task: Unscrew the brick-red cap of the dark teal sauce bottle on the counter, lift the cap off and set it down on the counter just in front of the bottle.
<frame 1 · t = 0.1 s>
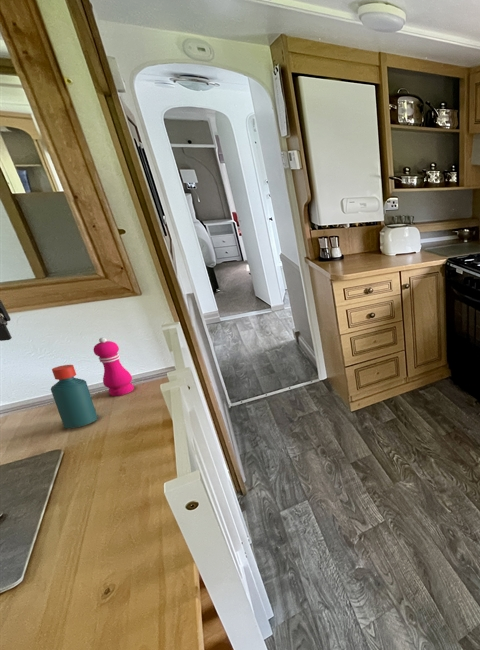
pepper mill: (122, 391, 129), on the table
bottle: (81, 422, 112), on the table, tilted 5°
cap: (63, 368, 107), point 17 cm above the table, tilted 5°, screwed on, not yet turned
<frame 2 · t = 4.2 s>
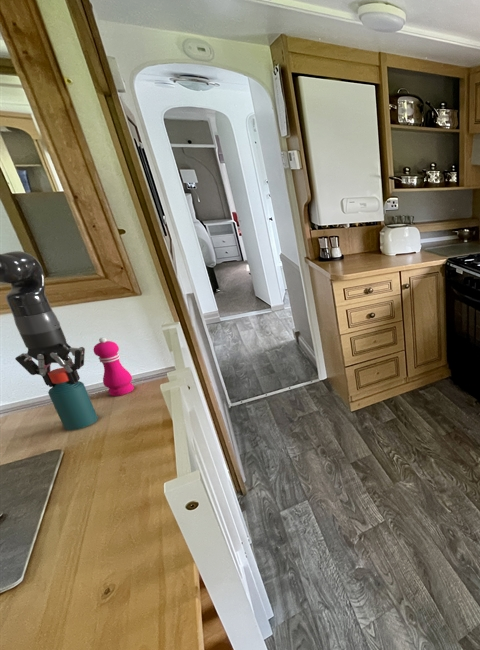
hand: (64, 383, 107), 13 cm above the table, tool pointing down, fingers closed on cap, 4 cm apart
bottle: (81, 422, 112), on the table
cap: (59, 372, 105), point 17 cm above the table, screwed on, not yet turned, touching gripper
everything else where it was.
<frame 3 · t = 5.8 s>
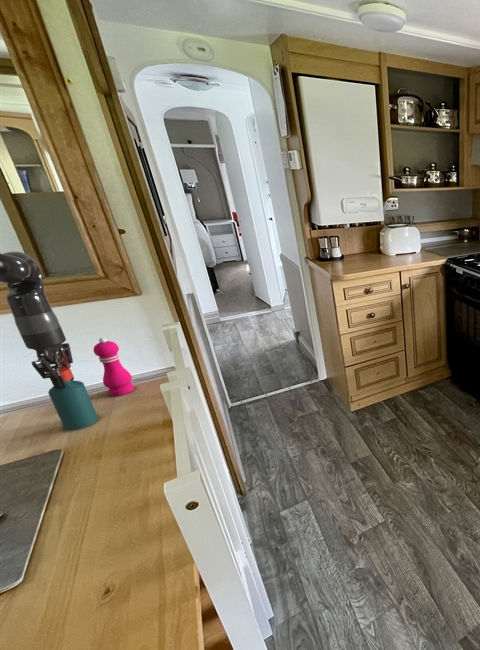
hand: (65, 383, 107), 13 cm above the table, tool pointing down, fingers closed on cap, 4 cm apart
bottle: (81, 422, 112), on the table, touching gripper
cap: (59, 371, 105), point 17 cm above the table, turned 91° so far, risen 0.1 cm, still on its thread, touching gripper
everything else where it was.
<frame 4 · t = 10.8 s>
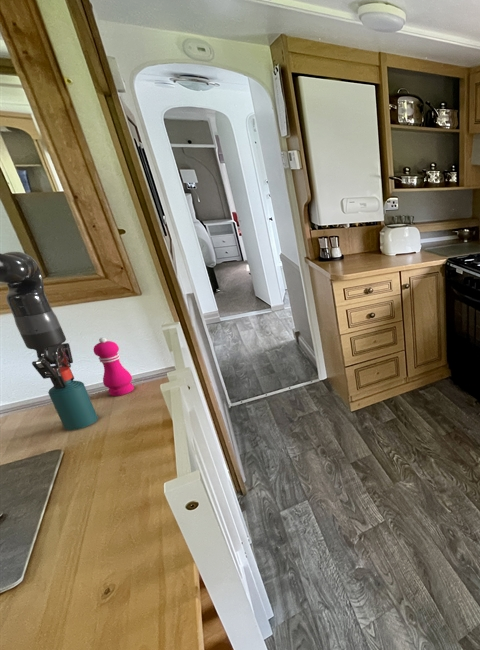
hand: (65, 383, 107), 13 cm above the table, tool pointing down, fingers closed on cap, 4 cm apart
cap: (59, 371, 105), point 17 cm above the table, turned 182° so far, risen 0.2 cm, still on its thread, touching gripper
everything else where it was.
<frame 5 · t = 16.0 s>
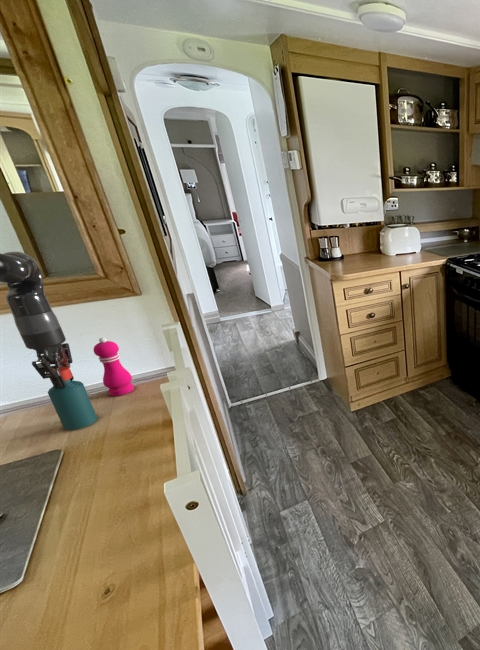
hand: (64, 384, 107), 13 cm above the table, tool pointing down, fingers closed on cap, 4 cm apart
cap: (58, 371, 105), point 17 cm above the table, turned 273° so far, risen 0.3 cm, still on its thread, touching gripper
everything else where it was.
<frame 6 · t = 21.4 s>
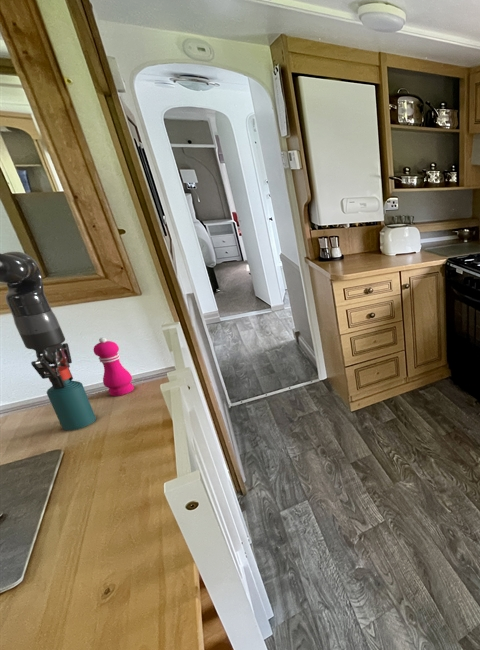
hand: (64, 384, 107), 13 cm above the table, tool pointing down, fingers closed on cap, 4 cm apart
cap: (57, 370, 105), point 17 cm above the table, turned 363° so far, risen 0.4 cm, still on its thread, touching gripper
everything else where it was.
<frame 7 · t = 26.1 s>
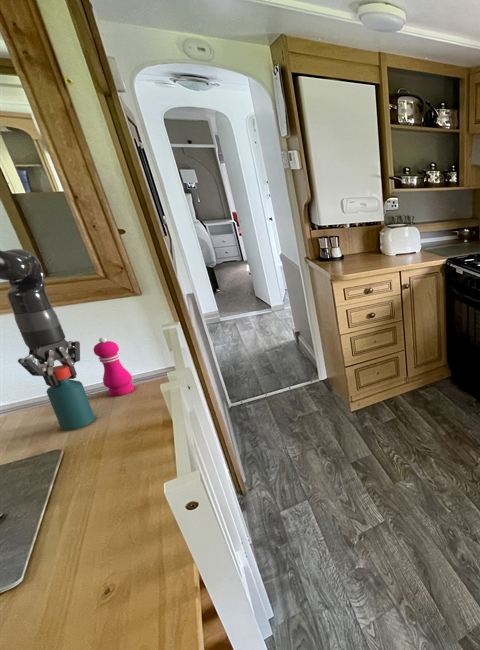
hand: (63, 381, 107), 14 cm above the table, tool pointing down, fingers closed on cap, 4 cm apart
bottle: (78, 423, 111), on the table
cap: (57, 369, 106), point 18 cm above the table, turned 425° so far, risen 0.4 cm, still on its thread, touching gripper
everything else where it was.
when the fingers open (0 cm above the table, at t = 39.2 s): cap drops 1 cm, point 2 cm above the table.
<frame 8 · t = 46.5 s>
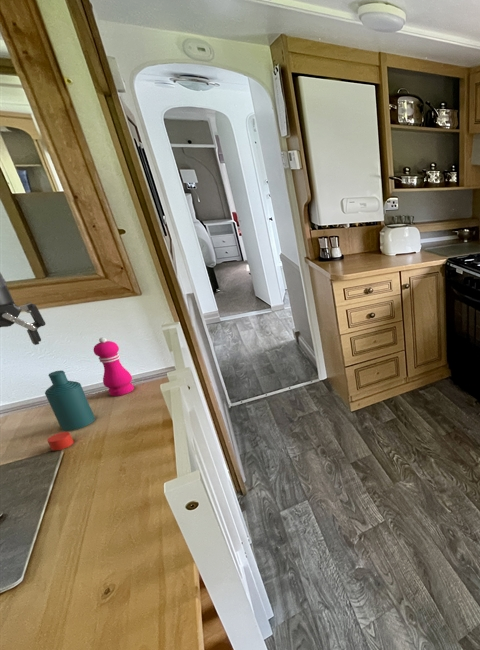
hand: (11, 350, 93), 28 cm above the table, tool pointing down, fingers open, 8 cm apart
cap: (59, 437, 101), point 2 cm above the table, off its thread
everything else where it was.
at the end: cap came off its thread; cap point 2.5 cm above the table; the gripper is holding nothing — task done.
